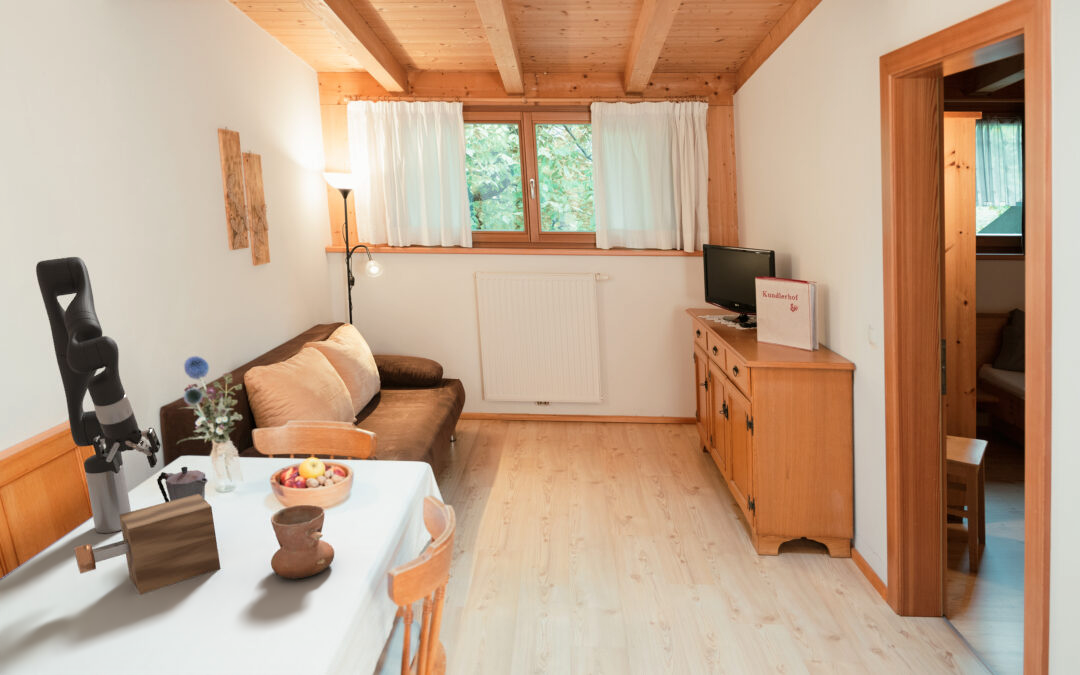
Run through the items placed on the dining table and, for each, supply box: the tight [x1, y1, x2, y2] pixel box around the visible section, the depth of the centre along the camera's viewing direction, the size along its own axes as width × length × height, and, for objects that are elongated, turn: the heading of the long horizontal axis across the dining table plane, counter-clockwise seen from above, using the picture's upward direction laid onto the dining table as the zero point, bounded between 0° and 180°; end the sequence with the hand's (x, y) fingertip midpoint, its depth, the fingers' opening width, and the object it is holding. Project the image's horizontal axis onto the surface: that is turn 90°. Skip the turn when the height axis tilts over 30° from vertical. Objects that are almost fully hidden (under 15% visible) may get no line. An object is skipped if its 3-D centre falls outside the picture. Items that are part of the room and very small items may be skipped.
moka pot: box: [156, 466, 209, 503], centre depth 211 cm, size 10×15×20 cm, turn 78°
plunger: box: [74, 539, 130, 575], centre depth 188 cm, size 6×21×6 cm, turn 127°
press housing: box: [119, 494, 221, 595], centre depth 193 cm, size 11×18×16 cm, turn 127°
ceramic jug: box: [270, 504, 335, 579], centre depth 192 cm, size 18×14×14 cm
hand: (135, 468), depth 202 cm, fingers open, 8 cm apart
